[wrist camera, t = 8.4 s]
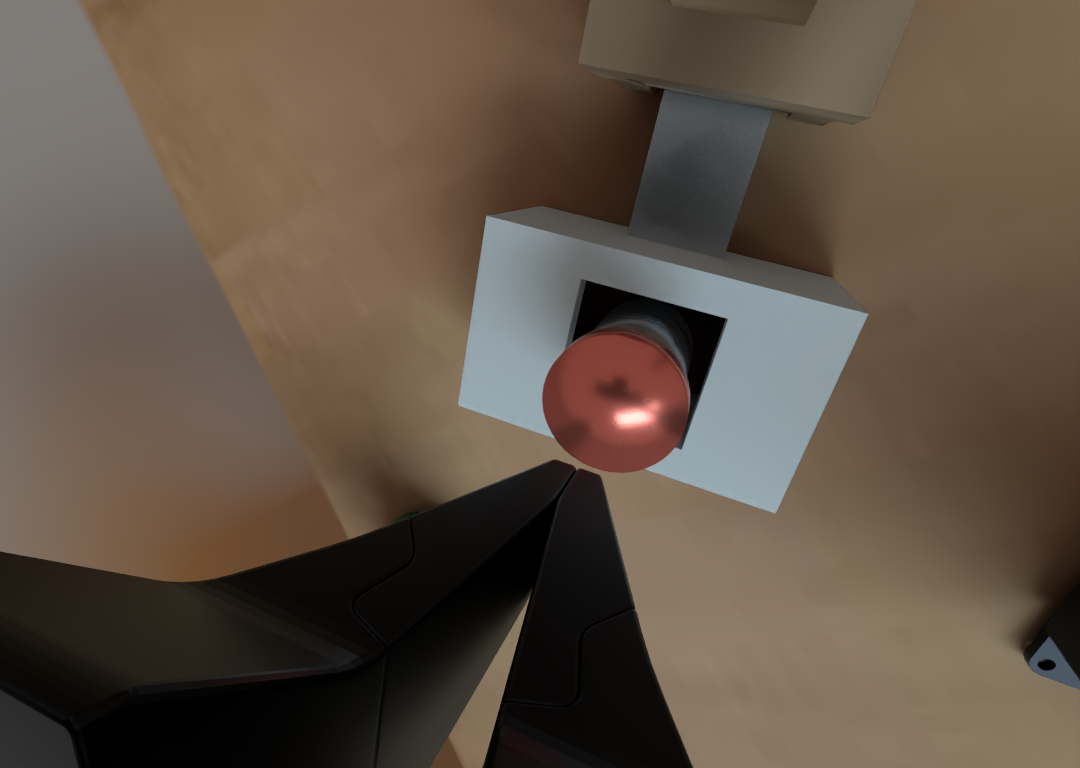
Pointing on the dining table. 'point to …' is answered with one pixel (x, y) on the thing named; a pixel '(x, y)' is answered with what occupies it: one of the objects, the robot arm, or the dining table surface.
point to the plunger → (622, 388)
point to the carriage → (752, 51)
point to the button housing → (682, 279)
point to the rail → (697, 171)
